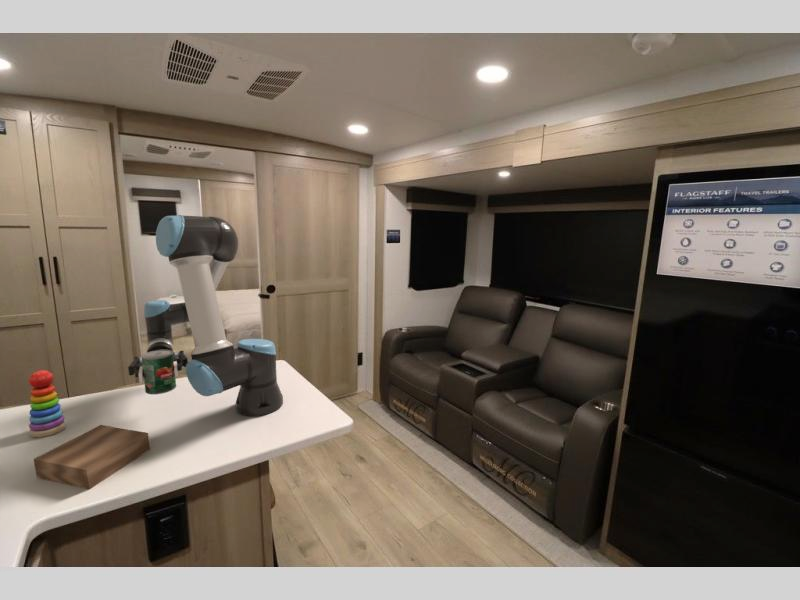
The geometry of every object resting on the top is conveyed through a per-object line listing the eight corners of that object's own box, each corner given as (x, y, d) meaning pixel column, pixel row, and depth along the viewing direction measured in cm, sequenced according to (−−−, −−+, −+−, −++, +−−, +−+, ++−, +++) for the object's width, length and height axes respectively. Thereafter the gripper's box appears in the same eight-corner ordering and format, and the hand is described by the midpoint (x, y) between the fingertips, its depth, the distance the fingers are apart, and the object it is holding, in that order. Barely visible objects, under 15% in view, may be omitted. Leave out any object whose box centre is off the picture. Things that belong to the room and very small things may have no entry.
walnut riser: (150, 449, 100) (148, 432, 99) (89, 489, 85) (86, 470, 84) (103, 440, 104) (100, 424, 103) (36, 477, 88) (33, 459, 87)
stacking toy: (32, 442, 102) (20, 379, 99) (27, 432, 107) (15, 371, 103) (69, 430, 109) (59, 370, 105) (63, 421, 113) (53, 364, 110)
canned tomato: (171, 393, 108) (168, 357, 105) (140, 395, 105) (136, 359, 103) (179, 382, 115) (176, 348, 113) (150, 384, 113) (147, 350, 111)
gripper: (195, 357, 130) (200, 380, 111) (123, 368, 119) (115, 395, 100) (194, 337, 129) (198, 357, 110) (120, 346, 118) (111, 369, 99)
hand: (158, 375), depth 105 cm, fingers closed on canned tomato, 8 cm apart
